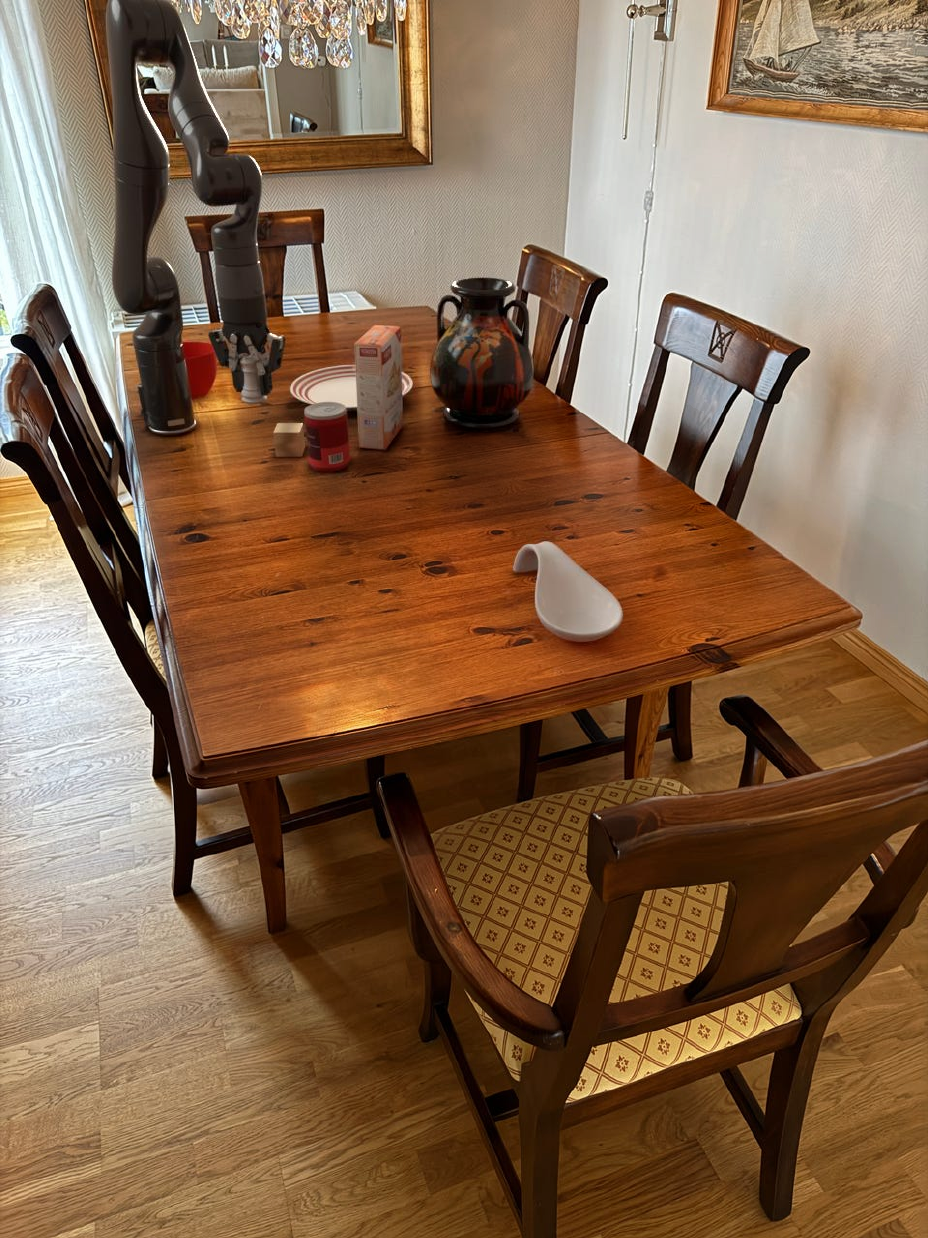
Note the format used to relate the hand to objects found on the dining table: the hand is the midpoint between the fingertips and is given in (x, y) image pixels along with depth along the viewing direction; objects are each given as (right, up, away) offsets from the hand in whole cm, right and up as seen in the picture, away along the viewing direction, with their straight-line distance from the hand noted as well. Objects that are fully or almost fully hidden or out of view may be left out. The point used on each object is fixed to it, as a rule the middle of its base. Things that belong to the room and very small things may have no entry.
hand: (253, 392), depth 156 cm
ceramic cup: (-25, +13, +50) cm, 58 cm away
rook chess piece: (0, -1, +1) cm, 2 cm away
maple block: (+3, -7, +20) cm, 21 cm away
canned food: (+11, -10, +15) cm, 21 cm away
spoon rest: (+50, -38, -28) cm, 69 cm away
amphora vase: (+40, +3, +35) cm, 54 cm away
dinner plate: (+12, +10, +47) cm, 49 cm away
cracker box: (+20, -3, +27) cm, 34 cm away
